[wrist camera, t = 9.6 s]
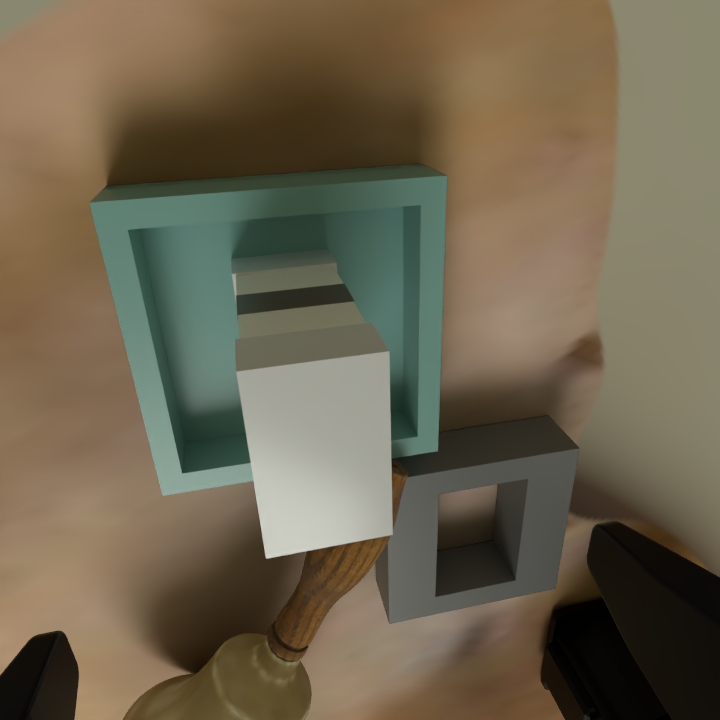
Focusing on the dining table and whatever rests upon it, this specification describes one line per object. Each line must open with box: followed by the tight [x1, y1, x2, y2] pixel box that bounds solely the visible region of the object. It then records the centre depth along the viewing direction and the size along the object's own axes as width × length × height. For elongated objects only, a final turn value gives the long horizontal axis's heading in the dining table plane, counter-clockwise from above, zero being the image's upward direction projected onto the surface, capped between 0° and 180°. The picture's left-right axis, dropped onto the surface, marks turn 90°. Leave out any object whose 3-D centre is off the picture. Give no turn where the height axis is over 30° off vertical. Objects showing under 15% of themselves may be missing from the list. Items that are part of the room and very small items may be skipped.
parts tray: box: [89, 164, 447, 496], centre depth 19 cm, size 10×10×2 cm
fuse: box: [231, 249, 393, 559], centre depth 16 cm, size 3×5×8 cm, turn 2°
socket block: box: [376, 416, 579, 624], centre depth 25 cm, size 8×8×2 cm
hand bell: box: [123, 459, 408, 720], centre depth 23 cm, size 8×8×16 cm
